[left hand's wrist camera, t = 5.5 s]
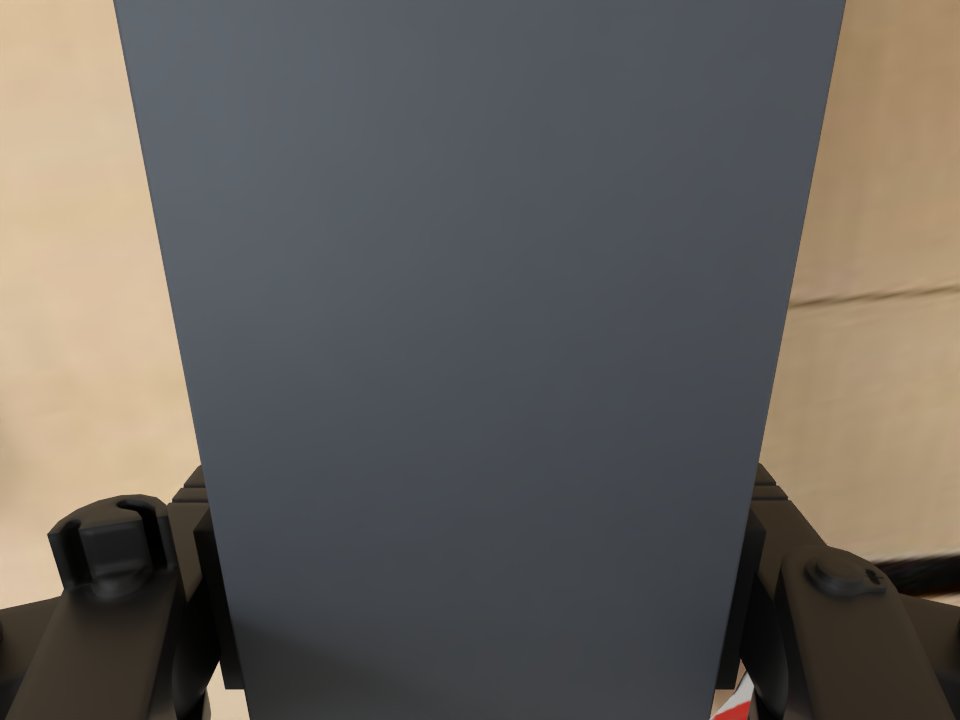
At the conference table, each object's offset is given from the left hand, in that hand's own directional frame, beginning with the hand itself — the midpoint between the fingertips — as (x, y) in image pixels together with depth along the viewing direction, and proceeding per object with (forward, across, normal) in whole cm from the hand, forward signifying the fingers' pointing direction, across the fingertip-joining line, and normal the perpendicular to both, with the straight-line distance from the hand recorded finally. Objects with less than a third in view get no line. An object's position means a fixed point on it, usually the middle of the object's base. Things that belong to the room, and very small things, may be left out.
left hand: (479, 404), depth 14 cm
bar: (+1, 0, -9) cm, 9 cm away
